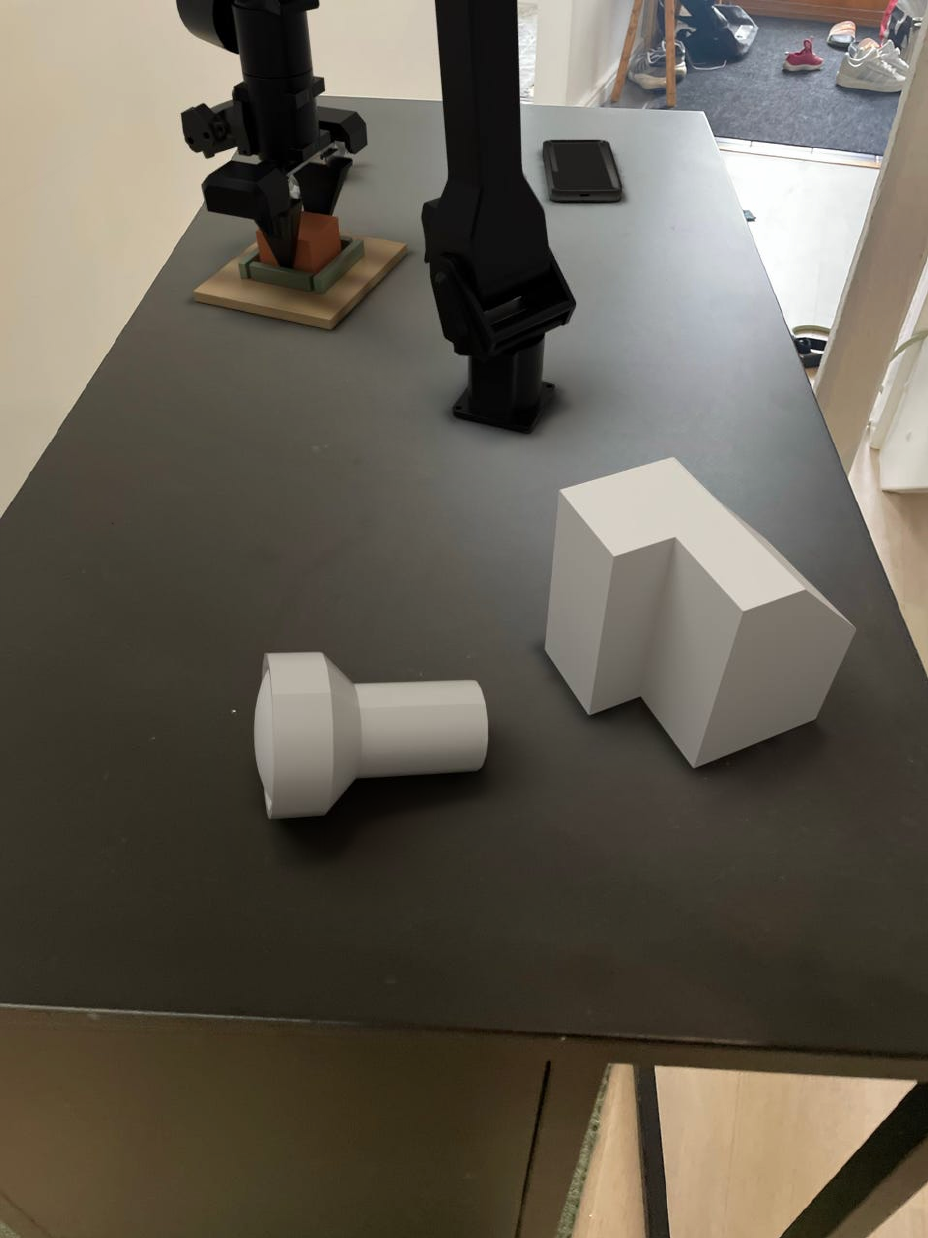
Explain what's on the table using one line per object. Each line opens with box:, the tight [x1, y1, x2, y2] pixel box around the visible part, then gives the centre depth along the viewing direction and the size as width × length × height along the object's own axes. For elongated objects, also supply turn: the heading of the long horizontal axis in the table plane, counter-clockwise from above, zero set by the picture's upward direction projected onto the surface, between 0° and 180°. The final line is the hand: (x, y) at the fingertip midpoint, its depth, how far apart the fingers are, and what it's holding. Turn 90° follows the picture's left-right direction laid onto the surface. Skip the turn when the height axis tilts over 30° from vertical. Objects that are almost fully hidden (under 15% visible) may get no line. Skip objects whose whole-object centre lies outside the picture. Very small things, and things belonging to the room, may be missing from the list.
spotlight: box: [253, 651, 489, 820], centre depth 46 cm, size 8×11×8 cm
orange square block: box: [255, 210, 341, 278], centre depth 84 cm, size 6×6×4 cm
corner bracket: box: [544, 456, 857, 769], centre depth 48 cm, size 11×11×12 cm
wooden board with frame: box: [192, 231, 408, 331], centre depth 86 cm, size 16×14×2 cm
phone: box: [541, 139, 623, 203], centre depth 102 cm, size 8×1×15 cm
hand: (302, 256), depth 85 cm, fingers closed on orange square block, 5 cm apart
